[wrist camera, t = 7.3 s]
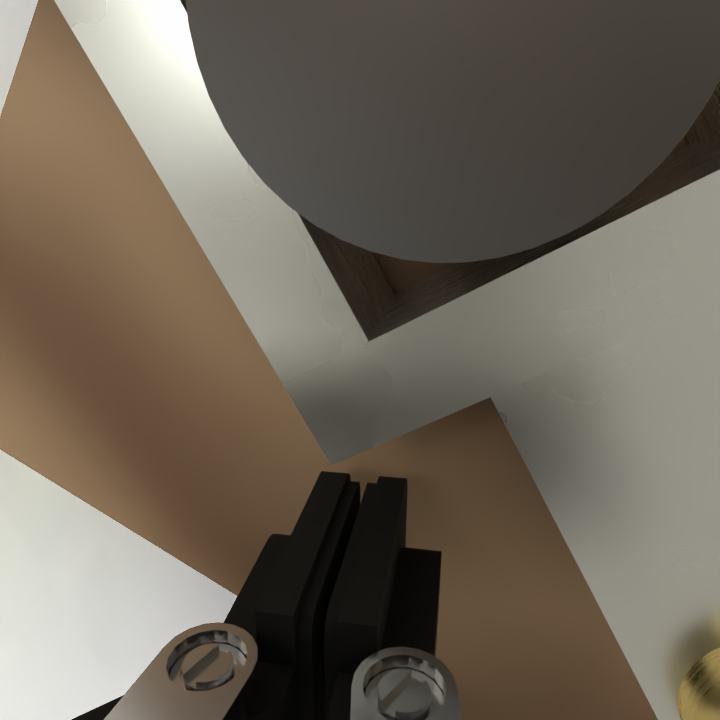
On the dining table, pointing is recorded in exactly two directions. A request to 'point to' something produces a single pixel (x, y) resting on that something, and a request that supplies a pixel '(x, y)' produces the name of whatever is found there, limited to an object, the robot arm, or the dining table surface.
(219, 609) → the dining table surface
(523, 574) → the board
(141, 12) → the square frame with handle
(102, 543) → the dining table surface
